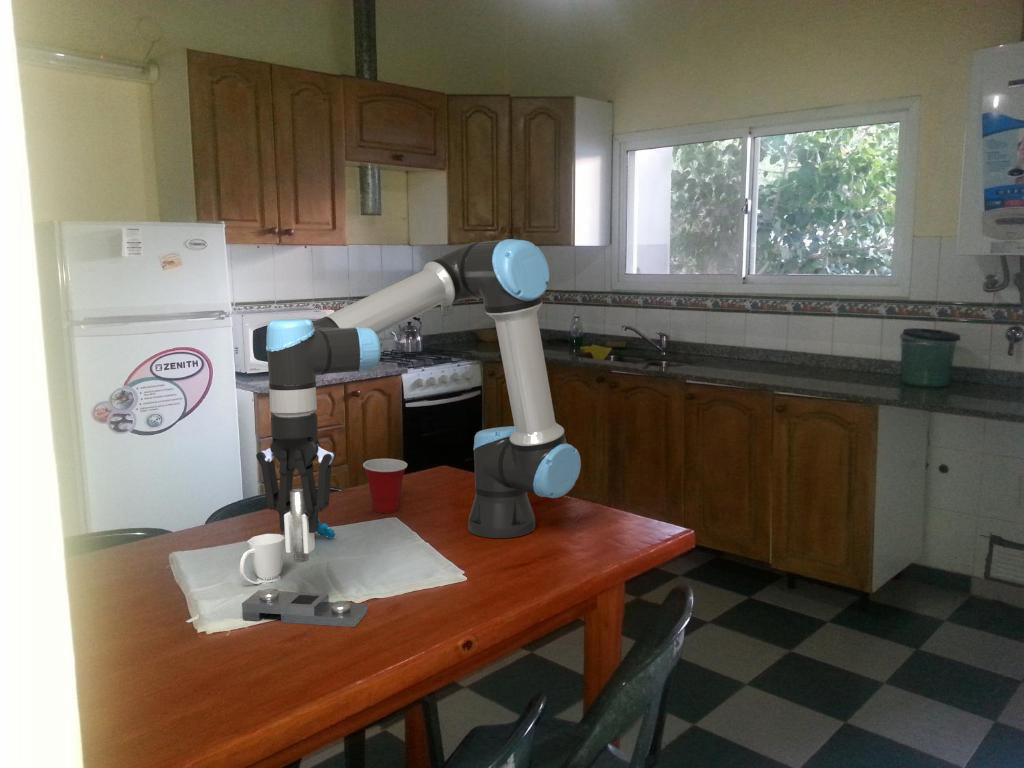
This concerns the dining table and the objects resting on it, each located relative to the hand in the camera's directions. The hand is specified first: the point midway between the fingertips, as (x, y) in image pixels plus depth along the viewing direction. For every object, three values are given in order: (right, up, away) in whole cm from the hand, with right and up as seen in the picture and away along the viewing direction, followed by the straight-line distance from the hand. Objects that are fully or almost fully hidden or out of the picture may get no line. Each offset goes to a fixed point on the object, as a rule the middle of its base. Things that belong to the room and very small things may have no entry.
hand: (300, 550), depth 141 cm
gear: (-8, -7, +42) cm, 43 cm away
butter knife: (-19, -13, 0) cm, 23 cm away
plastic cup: (+5, -3, +64) cm, 65 cm away
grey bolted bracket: (0, -12, +2) cm, 12 cm away
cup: (-12, -10, +18) cm, 24 cm away
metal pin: (0, -2, 0) cm, 2 cm away
